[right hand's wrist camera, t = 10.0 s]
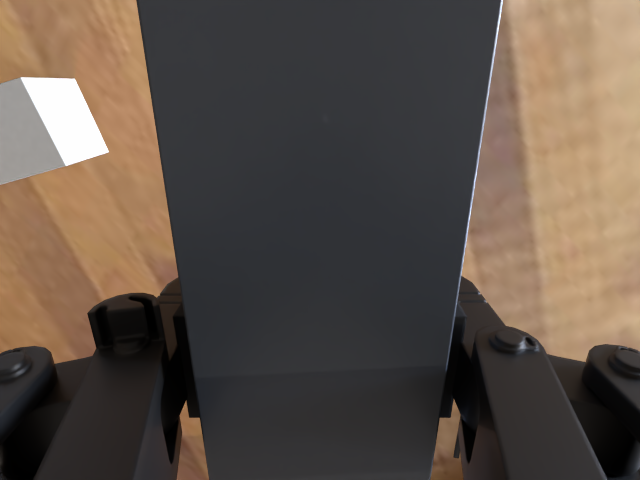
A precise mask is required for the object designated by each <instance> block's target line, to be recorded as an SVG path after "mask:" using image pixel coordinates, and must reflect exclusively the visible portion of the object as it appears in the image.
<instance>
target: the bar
mask: <svg viewBox="0 0 640 480" xmlns="http://www.w3.org/2000/svg"><path fill="white" fill-rule="evenodd" d="M502 3H503V0H137V7H138V14H139V20H140V27H141V33H142V40H143V46H144V53H145V60H146V66H147V73H148V79H149V86H150V92H151V99H152V106H153V112H154V119H155V125H156V132H157V139H158V145H159V152H160V158H161V165H162V171H163V178H164V185H165V191H166V198H167V204H168V211H169V217H170V224H171V231H172V237H173V244H174V250H175V257H176V264H177V270H178V277H179V283H180V290H181V296H182V303H183V310H184V316H185V323H186V329H187V336H188V343H189V349H190V356H191V362H192V369H193V375H194V382H195V389H196V395H197V402H198V408H199V415H200V421H201V428H202V435H203V441H204V448H205V454H206V461H207V468H208V474H209V480H430V478H431V471H432V465H433V458H434V451H435V445H436V438H437V432H438V425H439V418H440V412H441V405H442V399H443V392H444V385H445V379H446V372H447V366H448V359H449V352H450V346H451V339H452V333H453V326H454V319H455V313H456V306H457V300H458V293H459V286H460V280H461V273H462V267H463V260H464V253H465V247H466V240H467V234H468V227H469V220H470V214H471V207H472V201H473V194H474V187H475V181H476V174H477V168H478V161H479V154H480V148H481V141H482V135H483V128H484V121H485V115H486V108H487V102H488V95H489V88H490V82H491V75H492V69H493V62H494V55H495V49H496V42H497V36H498V29H499V22H500V16H501V9H502Z"/></svg>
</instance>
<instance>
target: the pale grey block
mask: <svg viewBox="0 0 640 480" xmlns="http://www.w3.org/2000/svg"><path fill="white" fill-rule="evenodd" d="M108 152H109V151H108V149H107V147H106V145H105V143H104V140H103V138H102V136H101V134H100V132H99V130H98V128H97V125H96V123H95V121H94V119H93V117H92V115H91V113H90V110H89V108H88V106H87V104H86V102H85V100H84V98H83V95H82V93H81V91H80V89H79V87H78V85H77V83H76V80H75V79H66V78H26V77H20V78H17V79H14V80H11V81H7V82H4V83H1V84H0V185H1V184H5V183H8V182H12V181H15V180H19V179H22V178H26V177H29V176H33V175H36V174H40V173H43V172H47V171H50V170H54V169H57V168H61V167H64V166H67V165H71V164H74V163H77V162H80V161H83V160H86V159H89V158H93V157H96V156H99V155H102V154H105V153H108Z"/></svg>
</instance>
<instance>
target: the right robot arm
mask: <svg viewBox="0 0 640 480" xmlns="http://www.w3.org/2000/svg"><path fill="white" fill-rule="evenodd" d="M87 314H88V318H89V321H90V325H91V329H92V333H93V337H94V341H95V344H96V350H95V352H94V354H93V356H90V357H86V358H82V359H77V360H72V361H67V362H62V363H57V364H54V360H53V357H52V354H51V352H50V351H49V350H47V349H46V348H44V347H37V346H31V347H20V348H15V349H13V350H8V351H5V352H2V353H1V354H0V480H177V471H178V463H179V454H180V446H181V438H182V428H181V422H180V416H179V415H180V413H181V411H182V408H183V406H184V404H185V401H187V407H188V413H189V418H200V415H199V408H198V402H197V395H196V389H195V382H194V375H193V369H192V362H191V356H190V349H189V343H188V336H187V329H186V323H185V316H184V310H183V303H182V296H181V290H180V283H179V277H178V278H176V279H175V280H173V281H172V282H170V283H168V284H167V286H166V287H165V288H164V289H163V291H162V292H161V293H160V296H158V297H157V298H156V297H155V296H154V295H151V294H146V293H129V294H123V295H118V296H115V297H112V298H110V299H107V300H104V301H103V302H101V303H99V304H97V305H96V306H94V307H93V308H92V309H91V310H90V311H89V312H88V313H87ZM453 399H454V400H455V402H456V405H457V407H458V409H459V412H460V414H461V416H460V422H459V428H458V433H457V439H456V444H455V450H454V458H459V454H461V462H462V470H463V479H464V480H640V352H639V351H638V350H635V349H632V348H627V347H624V346H618V345H608V344H604V345H598V346H594V347H593V348H592V349H591V350H589V353H588V356H587V359H586V362H582V361H577V360H572V359H567V358H562V357H556V356H552V355H549V354H546V352H545V350H544V348H543V346H542V345H541V344H540V343H539V341H538V340H537V339H535V338H534V337H532V336H531V335H529V334H528V333H526V332H523V331H521V330H518V329H516V328H512V327H508V326H505V324H504V323H503V322H502V321H501V319H500V318H499V317H498V315H497V314H496V313H495V311H494V310H493V309H492V308H491V306H490V305H489V304H488V303H486V300H485V299H484V297H483V296H482V295H481V294H480V292H479V291H478V289H477V288H476V287H475V286H474V284H473V283H472V282H470V281H469V280H467V279H466V278H464V277H462V276H461V280H460V286H459V293H458V300H457V306H456V313H455V319H454V326H453V333H452V339H451V346H450V352H449V359H448V366H447V372H446V379H445V385H444V392H443V399H442V405H441V412H440V418H450V417H451V411H452V405H453Z"/></svg>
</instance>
